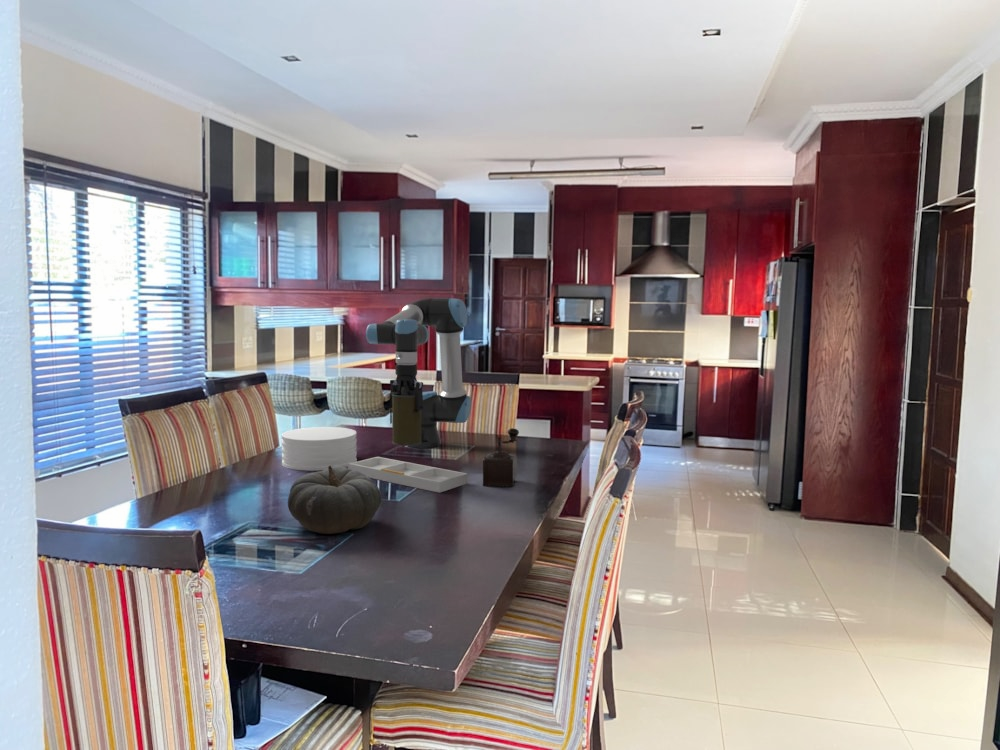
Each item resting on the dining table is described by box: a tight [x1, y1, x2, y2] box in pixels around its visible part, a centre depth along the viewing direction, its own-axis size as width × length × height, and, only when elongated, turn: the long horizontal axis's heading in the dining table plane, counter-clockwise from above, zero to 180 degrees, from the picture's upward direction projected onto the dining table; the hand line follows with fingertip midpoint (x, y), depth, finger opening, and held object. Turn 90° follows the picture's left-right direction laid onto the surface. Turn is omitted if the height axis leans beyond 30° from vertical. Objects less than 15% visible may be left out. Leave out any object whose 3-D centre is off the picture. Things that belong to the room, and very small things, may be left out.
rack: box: [347, 456, 469, 493], centre depth 246 cm, size 43×15×4 cm, turn 55°
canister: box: [389, 387, 422, 447], centre depth 244 cm, size 11×10×20 cm
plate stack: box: [281, 426, 358, 472], centre depth 269 cm, size 28×28×12 cm
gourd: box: [287, 466, 382, 535], centre depth 192 cm, size 25×25×17 cm
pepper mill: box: [482, 427, 520, 488], centre depth 243 cm, size 16×11×18 cm
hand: (406, 429), depth 244 cm, fingers open, 6 cm apart
